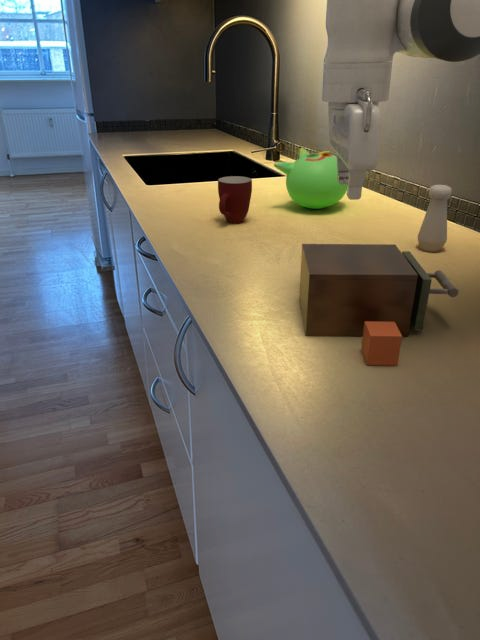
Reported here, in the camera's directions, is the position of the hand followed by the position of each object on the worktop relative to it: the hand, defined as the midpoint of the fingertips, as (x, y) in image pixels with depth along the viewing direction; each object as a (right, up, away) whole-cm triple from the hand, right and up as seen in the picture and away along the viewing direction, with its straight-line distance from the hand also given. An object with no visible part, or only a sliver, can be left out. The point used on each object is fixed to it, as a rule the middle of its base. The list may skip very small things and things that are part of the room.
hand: (348, 190), depth 75 cm
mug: (-18, +4, +49) cm, 52 cm away
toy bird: (+4, +11, +62) cm, 63 cm away
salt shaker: (+24, -4, +32) cm, 40 cm away
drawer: (+6, -18, +4) cm, 19 cm away
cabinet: (+1, -19, +4) cm, 19 cm away
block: (+3, -24, -7) cm, 25 cm away
